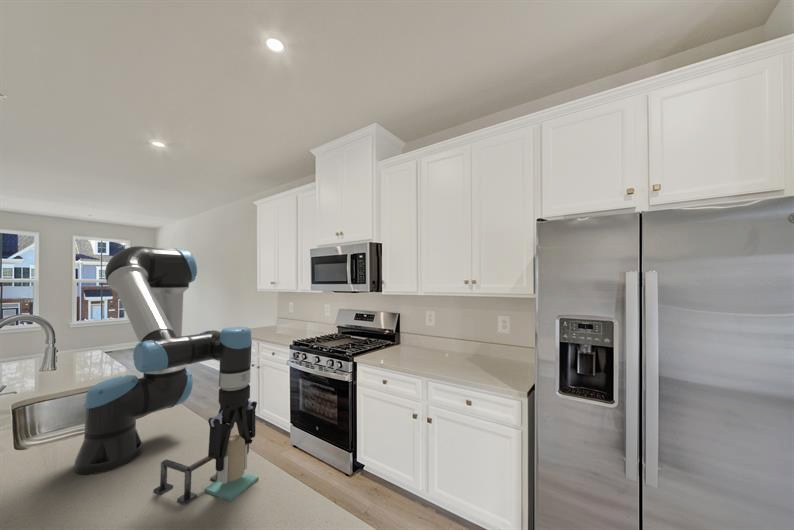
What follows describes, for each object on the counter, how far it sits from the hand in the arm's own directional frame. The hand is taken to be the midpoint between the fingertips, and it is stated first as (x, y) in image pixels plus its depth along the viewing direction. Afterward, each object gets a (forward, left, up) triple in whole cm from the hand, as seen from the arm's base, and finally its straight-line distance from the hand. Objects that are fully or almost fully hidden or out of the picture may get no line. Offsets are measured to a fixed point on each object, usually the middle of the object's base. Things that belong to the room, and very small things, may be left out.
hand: (232, 474), depth 85 cm
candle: (0, 0, -1) cm, 1 cm away
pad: (0, 0, -3) cm, 3 cm away
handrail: (-11, -3, -3) cm, 11 cm away
